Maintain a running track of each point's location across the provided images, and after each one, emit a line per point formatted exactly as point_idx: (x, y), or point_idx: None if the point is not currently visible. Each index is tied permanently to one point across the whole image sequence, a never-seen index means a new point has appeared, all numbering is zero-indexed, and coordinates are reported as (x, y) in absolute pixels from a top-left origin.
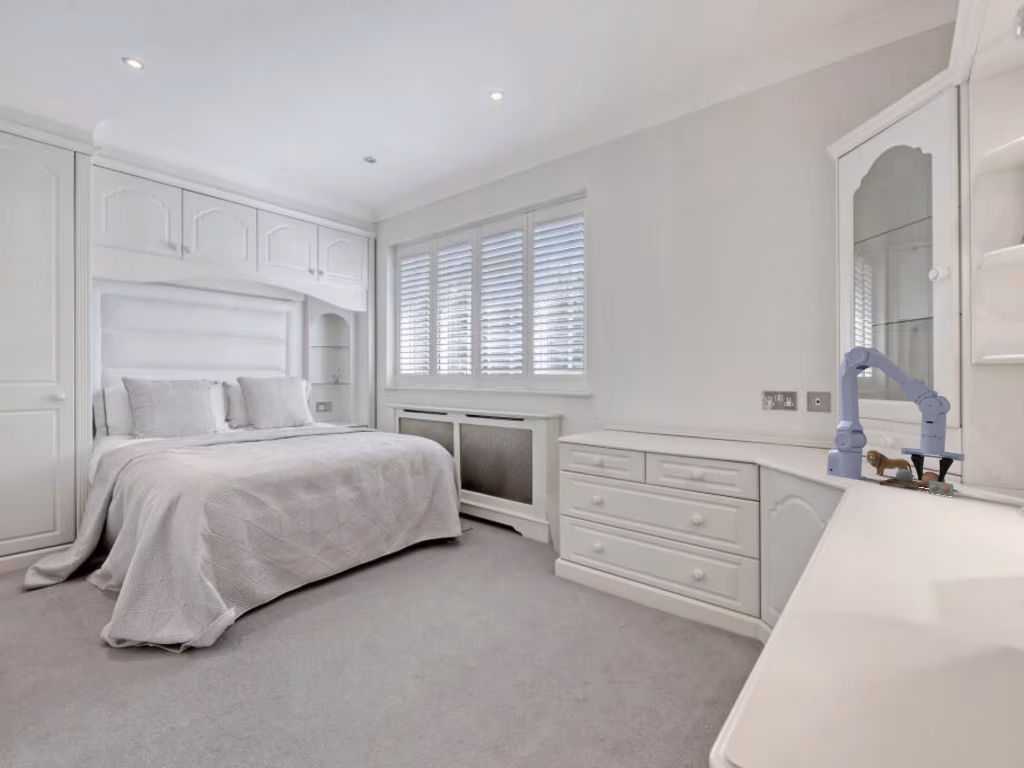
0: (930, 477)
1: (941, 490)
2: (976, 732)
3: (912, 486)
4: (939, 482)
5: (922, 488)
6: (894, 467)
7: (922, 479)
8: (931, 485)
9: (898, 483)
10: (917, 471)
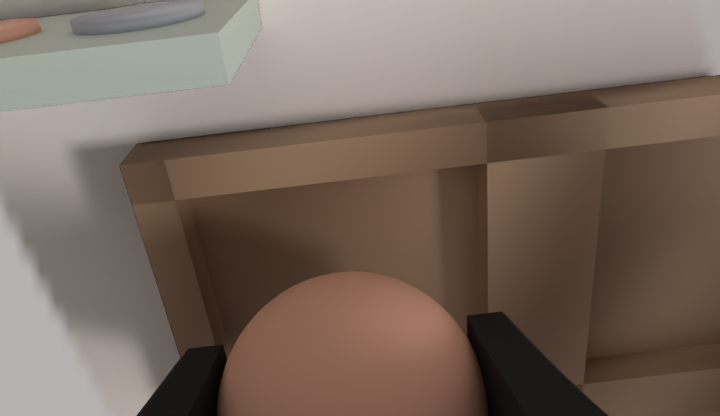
0: (313, 337)
1: (49, 27)
2: None
3: (527, 169)
4: (15, 55)
5: (384, 139)
6: None
7: (442, 310)
8: (191, 23)
9: (712, 350)
10: (578, 406)
